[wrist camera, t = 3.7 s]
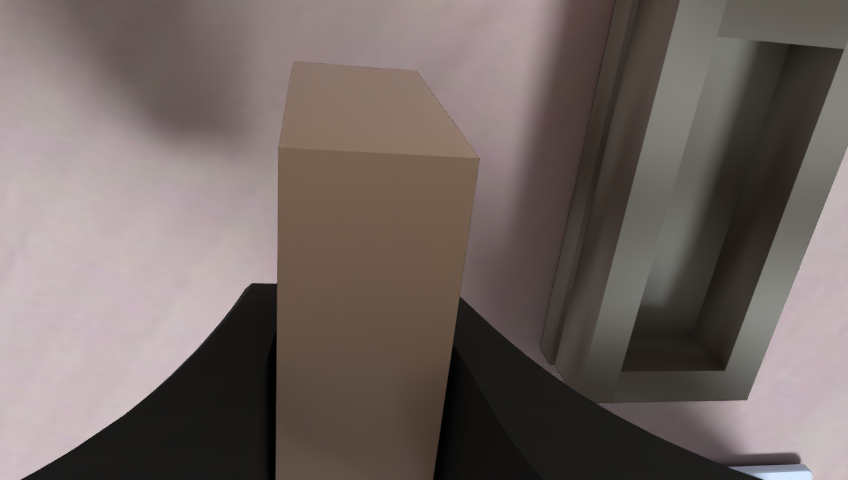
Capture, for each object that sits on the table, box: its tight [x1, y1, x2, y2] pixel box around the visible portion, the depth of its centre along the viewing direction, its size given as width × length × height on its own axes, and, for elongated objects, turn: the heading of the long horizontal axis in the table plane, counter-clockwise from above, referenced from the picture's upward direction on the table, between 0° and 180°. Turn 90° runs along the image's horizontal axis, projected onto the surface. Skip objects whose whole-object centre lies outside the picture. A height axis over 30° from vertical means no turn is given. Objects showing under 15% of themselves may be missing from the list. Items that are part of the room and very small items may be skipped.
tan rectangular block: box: [276, 61, 480, 480], centre depth 11 cm, size 8×2×5 cm, turn 174°
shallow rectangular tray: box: [540, 0, 848, 403], centre depth 19 cm, size 12×6×3 cm, turn 174°
